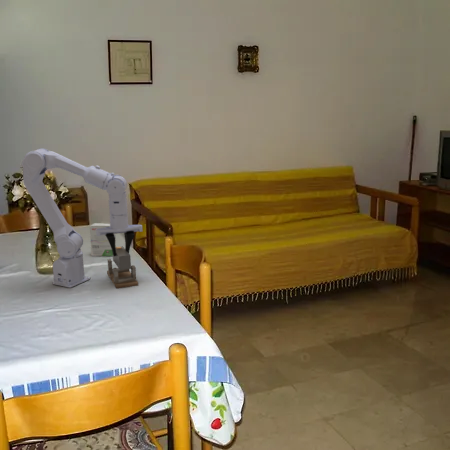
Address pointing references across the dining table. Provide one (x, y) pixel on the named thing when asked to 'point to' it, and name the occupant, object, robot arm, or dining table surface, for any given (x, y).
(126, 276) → the cradle
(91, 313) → the dining table surface
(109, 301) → the dining table surface
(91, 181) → the robot arm
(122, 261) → the grey rectangular block
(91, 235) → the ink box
